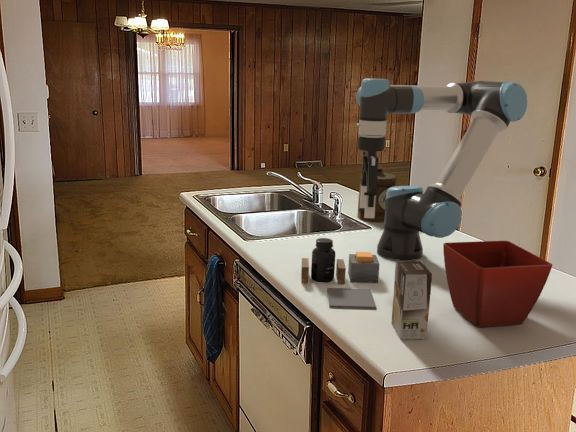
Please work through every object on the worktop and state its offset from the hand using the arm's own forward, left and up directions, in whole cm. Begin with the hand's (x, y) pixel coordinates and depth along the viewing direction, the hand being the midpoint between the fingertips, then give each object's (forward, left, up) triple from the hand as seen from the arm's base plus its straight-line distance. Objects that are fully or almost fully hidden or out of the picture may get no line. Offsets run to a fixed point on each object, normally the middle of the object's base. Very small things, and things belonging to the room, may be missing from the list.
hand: (366, 212), depth 160 cm
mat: (+5, +16, -20) cm, 26 cm away
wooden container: (-13, -71, -20) cm, 75 cm away
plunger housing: (0, 0, -20) cm, 20 cm away
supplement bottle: (+12, +2, -20) cm, 24 cm away
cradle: (+12, +2, -20) cm, 23 cm away
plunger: (0, 0, -19) cm, 19 cm away
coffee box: (-7, +34, -20) cm, 40 cm away
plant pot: (-29, +24, -20) cm, 43 cm away
